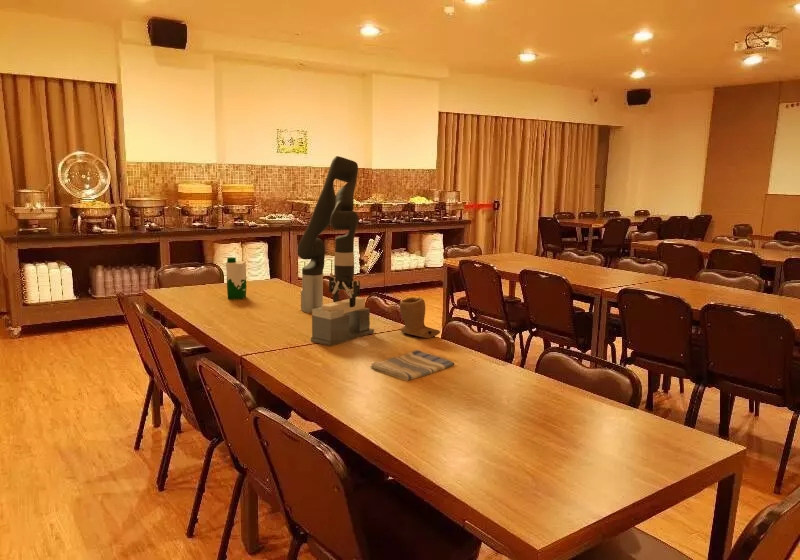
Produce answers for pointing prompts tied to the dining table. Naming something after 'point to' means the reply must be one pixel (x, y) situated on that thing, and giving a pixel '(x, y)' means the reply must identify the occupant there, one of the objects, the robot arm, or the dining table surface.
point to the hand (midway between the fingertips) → (344, 305)
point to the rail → (345, 305)
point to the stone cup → (415, 318)
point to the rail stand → (339, 325)
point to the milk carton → (236, 278)
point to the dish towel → (412, 365)
